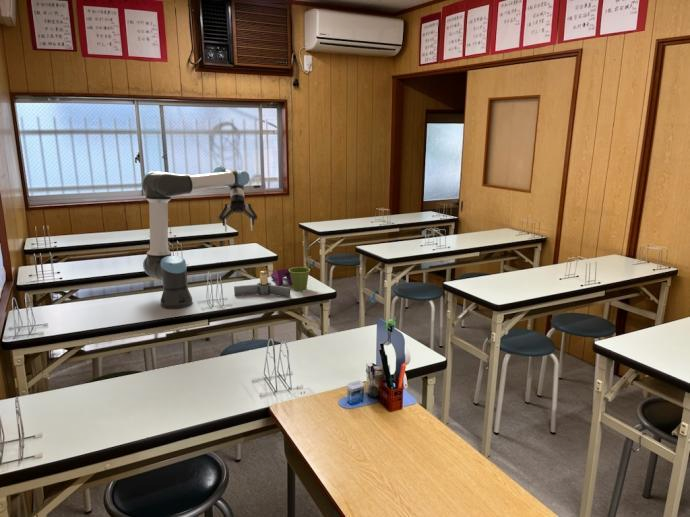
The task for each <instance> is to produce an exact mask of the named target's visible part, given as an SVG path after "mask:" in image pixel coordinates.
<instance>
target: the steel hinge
mask: <svg viewBox="0 0 690 517" xmlns="http://www.w3.org/2000/svg"><path fill="white" fill-rule="evenodd" d="M233 292H234V294H233V295H234V297H239V296H240V297H241V296H250V295H258V296H269V295H272V296H279V297H283V296H284V297H283V298H290V297H291V287H287V286H283V285H282V286H277V285H276V284H275V285H274V284H272V283H271V282H269V281H268V285H267V286H260V282H257V283H256V284H246V285H244V284H243V285H235V286H233Z"/></svg>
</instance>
